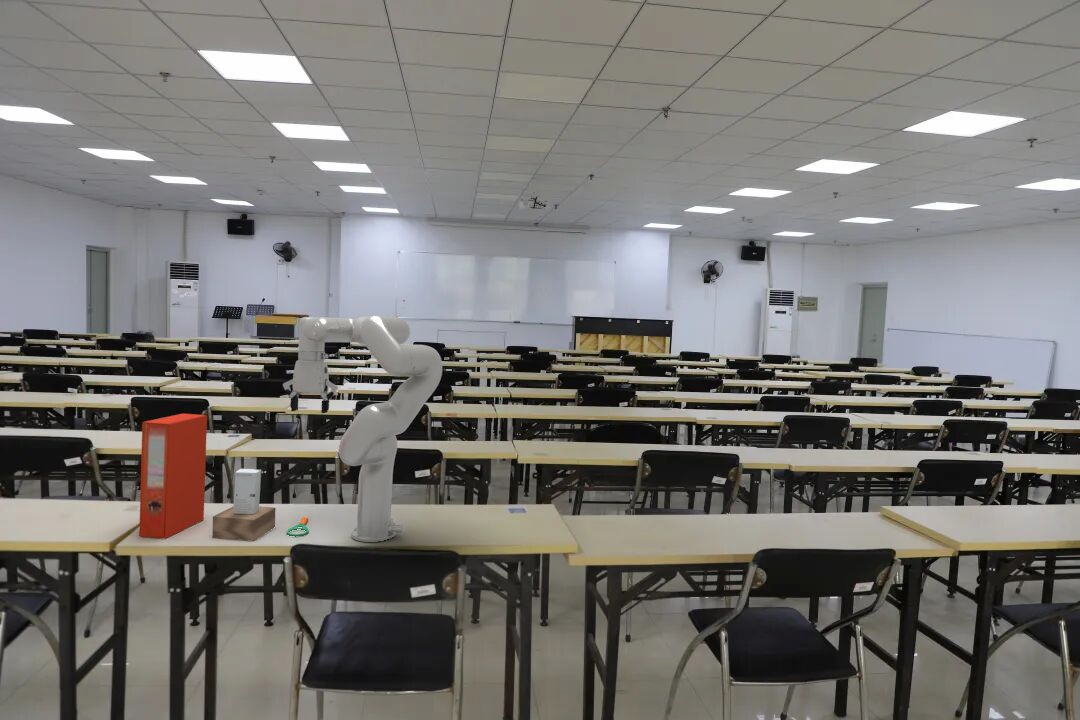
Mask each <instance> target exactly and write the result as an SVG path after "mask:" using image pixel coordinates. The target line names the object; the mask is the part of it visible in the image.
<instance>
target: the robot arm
mask: <svg viewBox="0 0 1080 720" xmlns="http://www.w3.org/2000/svg"><path fill="white" fill-rule="evenodd" d="M298 325H299V328H298V356H297V357H298V360H296V361H295V364H294V369H293V375H292V379H290V380H288V381H286V382H284V383H282V387H283V389H284V390H285V391H284V392H285V393H286V394H287V396H288V397H289V399H290V405H289V406H290V408H291V409H290V411H291V412H296V411H298V410H299V394H313V395H320V396H321V398H322V399H323V400H322V401H321V407H320V408H321V411H320V412H321V413H322V414H326V413H328V411H329V409H330V400H331V399H332V398H333V397H334V396H335V395H336V393H337V391H338V389H339V387H338V385H336V384H334V383H333V382H331V381H330V380H329V368H328V363H327V361H325V359H329V354H328V353H326V351H325V344H326V343H357V344H359V345H361V346H365V347H366V348H367V349H368V351H369V352H370V353H371V355H372V356H373V358H374V359H375V360H376V361H377V363H378V364H379V365H380V366H381V368H382V369H383V370H384V371H385V372H386V373H388V374H389V375H391V376H393V377H406V376H407V377H408V378H407V379H406V380H405V381H404V382H402V383H401V384H400V385H399V386H398V387H397V389H396V391H395V392H394V393H393V395H392V396H391V397H390V398H389V399H388V400H387V401H385V402H379V403H373V404H368V405H366V406H365V407H363V408H362V409H360V411H359V412H358V413H357V415H355V417H354V419H353V421H352V422H350V425H349V426H348V428H346V431H345V432H344V434H343V435H342V437H341V439H340V441H339V444H338V455H339V458H340V460H341V461H342V462H343V463H344V464H345V465H347V466H351V467H358V466H361V467H360V469H359V470H360V471H359V476H358V491H357V492H358V494H357V514H356V515H357V516H356V517H357V519H356V528H353V529H352V530H351V533H350V537H351V538H352V539H353V540H355V541H358V542H364V543H379V542H378V541H381V542H385V541H384V540H386V541H388V540H387V539H389V540H391V539H393V538H394V537H396V535H397V534H398V533H400V534H404V533H405V525H404V524H401V523H395V519H394V518H392V497H393V495H392V494H393V493H392V491H393V476H394V475H393V474H394V465H395V459H396V454H397V452H398V439H397V437H396V436H397V435H400V434H402V433H404V432H405V431H406V430H407V429H408V428H409V426H410V425H411V424H412V423H413V420H414V419H415V418H416V416H417V415H418V414H419V412H420V411H421V409H422V407H423V406H424V405H425V404H426V402H427V401H428V399H429V398H430V397H431V396H432V395H433V393H434V392H435V391H436V389H437V387H438V386H439V384H440V381H441V379H442V376H443V361H442V357H441V355H440V354H439V352H438V351H437V350H436V349H435V348H434V347H431V346H429V345H426V344H405V343H406V342H407V340H408V339H409V338H410V335H411V328H410V325H409V323H408V322H407V321H406V320H404V319H403V318H401V317H398V316H389V315H362V316H359V317H358V318H351V317H350V318H349V317H348V318H347V317H326V316H325V317H324V316H322V317H321V316H320V317H317V316H316V317H315V316H313V317H312V316H304V317H301V318H299V324H298ZM291 385H292V389H291V387H290V386H291ZM329 389H331V390H330V392H329ZM328 392H329V393H328ZM396 533H397V534H396ZM392 537H393V538H392ZM390 538H391V539H390Z"/></svg>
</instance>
